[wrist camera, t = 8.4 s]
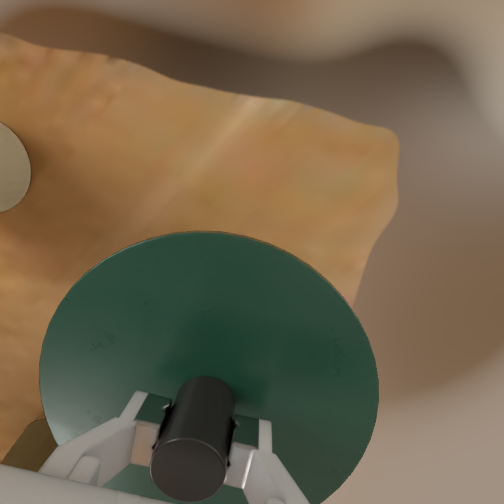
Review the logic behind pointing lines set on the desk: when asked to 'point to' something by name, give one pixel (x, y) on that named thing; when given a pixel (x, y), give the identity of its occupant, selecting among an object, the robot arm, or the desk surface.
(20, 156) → the reusable coffee cup
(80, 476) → the robot arm
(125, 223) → the desk surface
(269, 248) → the lid
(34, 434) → the cork
